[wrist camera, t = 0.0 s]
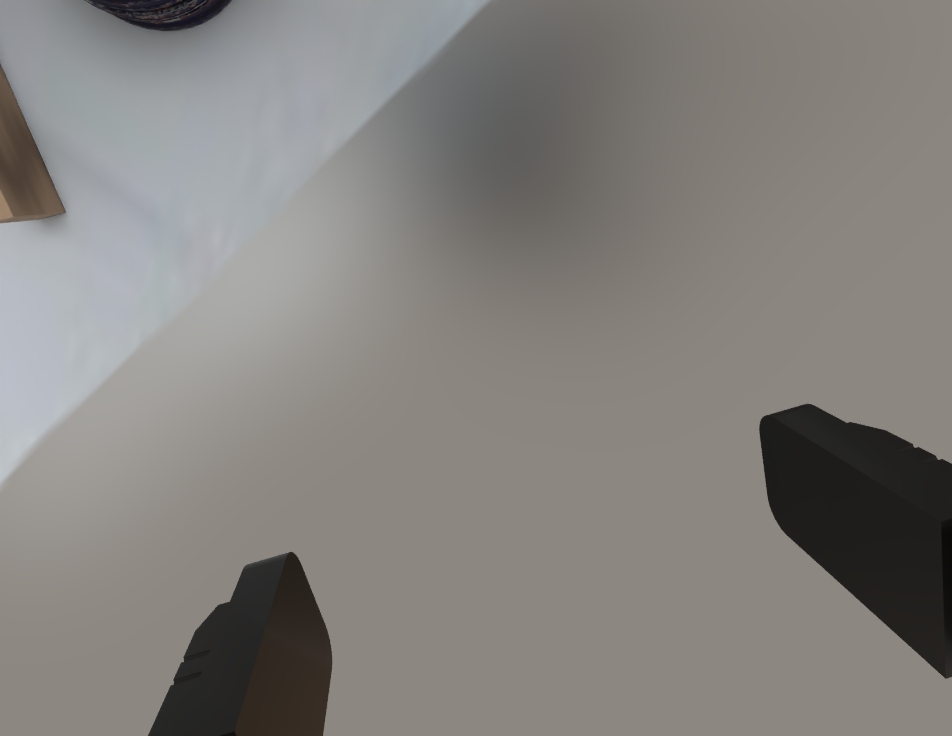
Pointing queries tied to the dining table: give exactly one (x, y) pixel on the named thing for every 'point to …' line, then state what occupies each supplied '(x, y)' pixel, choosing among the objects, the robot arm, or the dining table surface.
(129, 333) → the dining table surface
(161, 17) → the rusty blue oil drum
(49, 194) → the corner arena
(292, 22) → the dining table surface
